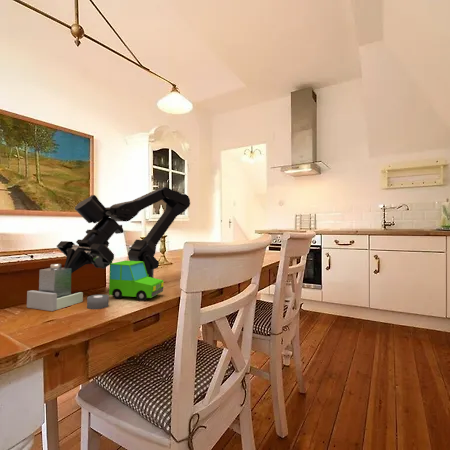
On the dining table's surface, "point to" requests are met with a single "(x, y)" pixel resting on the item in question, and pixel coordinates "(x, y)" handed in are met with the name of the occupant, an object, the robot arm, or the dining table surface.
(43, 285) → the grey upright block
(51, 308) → the bay
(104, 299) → the spare wheel
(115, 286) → the toy car
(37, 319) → the dining table surface
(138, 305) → the dining table surface
